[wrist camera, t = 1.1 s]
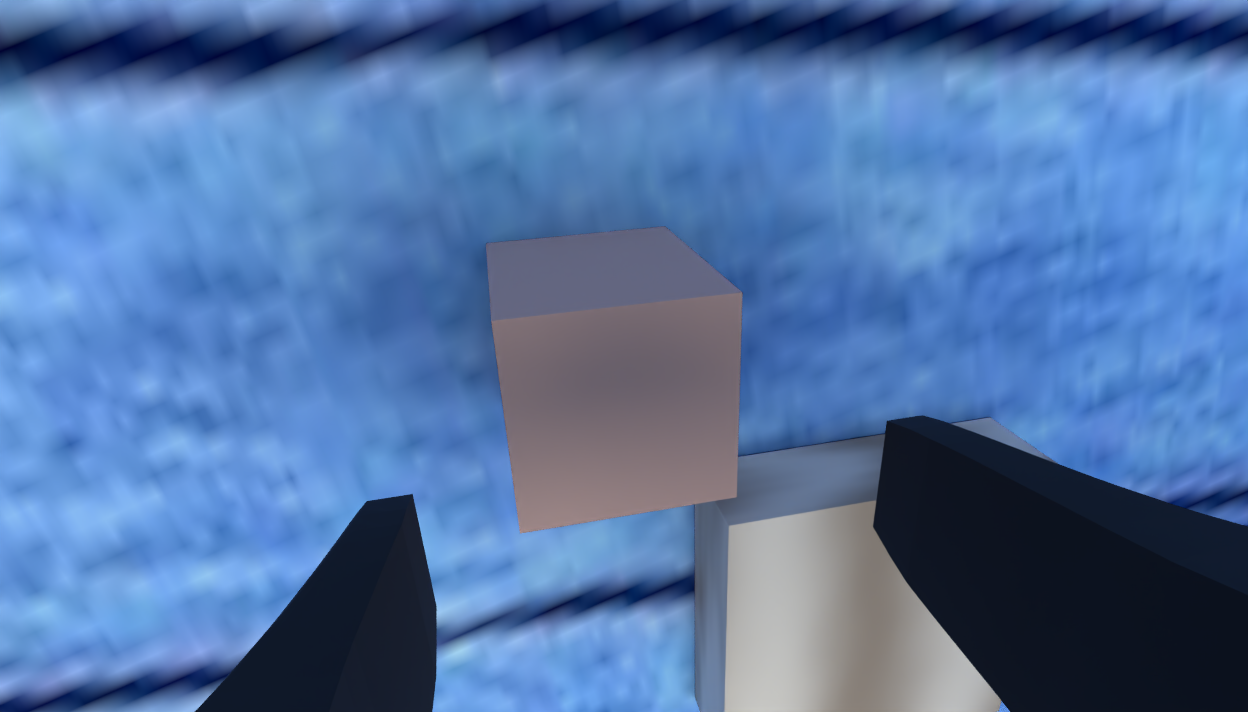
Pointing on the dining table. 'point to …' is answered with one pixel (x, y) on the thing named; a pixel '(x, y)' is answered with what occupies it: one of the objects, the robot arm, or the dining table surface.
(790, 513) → the birch base
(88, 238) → the dining table surface
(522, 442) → the terracotta block
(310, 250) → the dining table surface
